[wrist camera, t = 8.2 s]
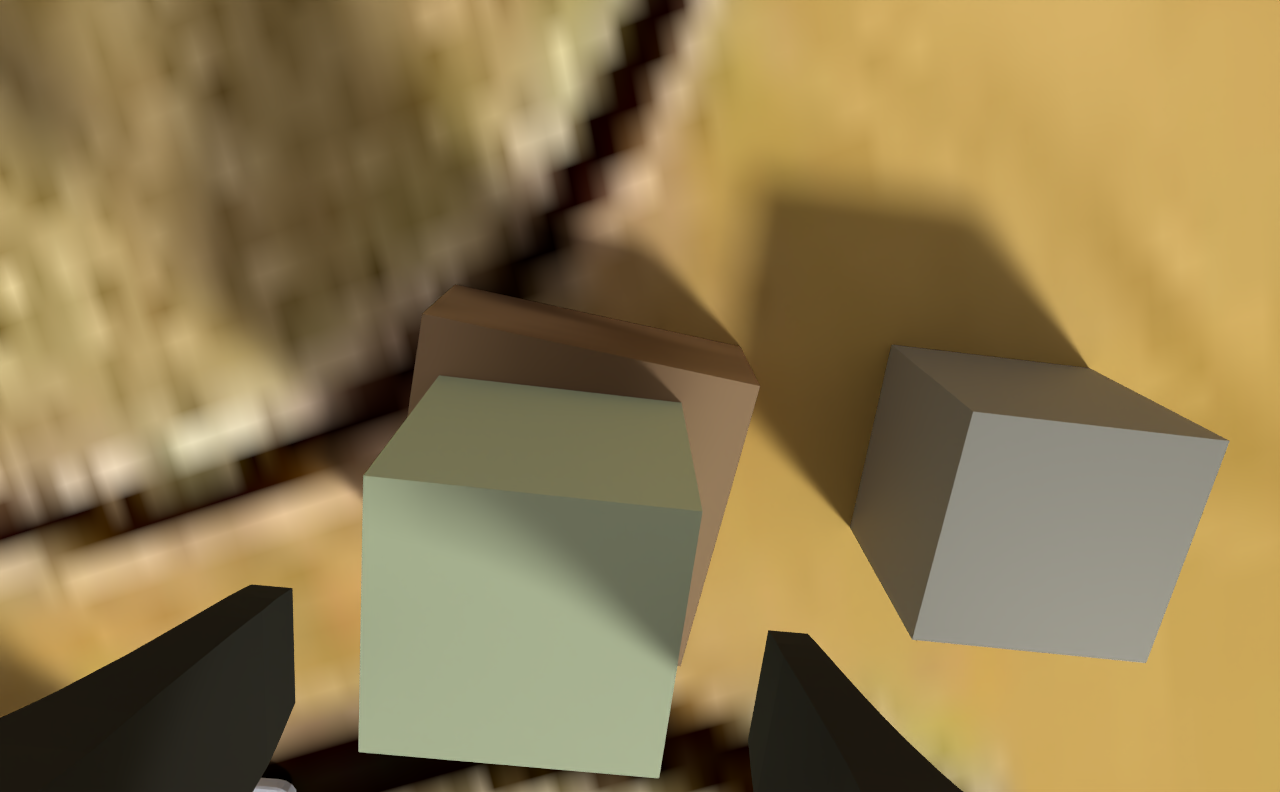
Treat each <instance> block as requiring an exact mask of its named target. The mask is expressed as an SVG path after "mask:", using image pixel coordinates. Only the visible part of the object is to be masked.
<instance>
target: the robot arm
mask: <svg viewBox="0 0 1280 792" xmlns="http://www.w3.org/2000/svg"><path fill="white" fill-rule="evenodd" d="M294 704H295V674H294V634H293V594H292V588H284V587H273V586H261V585H249V586H247V587H245V588H243V589H241V590H239V591H237V592H236V593H234V594H232V595H230V596H228V597H227V598H225V599H223V600H221V601H219V602H218V603H216V604H214V605H212V606H211V607H209V608H207V609H206V610H204V611H202V612H200V613H199V614H197V615H195V616H194V617H192V618H190V619H188V620H187V621H185V622H183V623H182V624H180V625H178V626H176V627H175V628H173V629H171V630H169V631H168V632H166V633H164V634H162V635H161V636H159V637H157V638H155V639H154V640H152V641H150V642H148V643H147V644H145V645H143V646H141V647H140V648H138V649H136V650H134V651H133V652H131V653H129V654H127V655H125V656H124V657H122V658H120V659H118V660H116V661H114V662H112V663H110V664H108V665H106V666H104V667H103V668H101V669H99V670H97V671H95V672H93V673H91V674H89V675H87V676H85V677H84V678H82V679H80V680H78V681H76V682H74V683H72V684H70V685H68V686H66V687H64V688H63V689H61V690H59V691H57V692H55V693H53V694H51V695H49V696H47V697H44V698H42V699H40V700H38V701H36V702H34V703H32V704H30V705H28V706H25V707H23V708H21V709H19V710H17V711H15V712H13V713H10V714H8V715H6V716H3V717H1V718H0V792H296V789H295V788H294V786H293V785H292V784H291V783H289V782H287V781H285V780H281V779H270V778H261V777H262V775H263V773H264V772H265V770H266V768H267V766H268V764H269V762H270V760H271V758H272V756H273V753H274V751H275V749H276V747H277V744H278V742H279V740H280V738H281V735H282V733H283V731H284V728H285V726H286V723H287V721H288V719H289V716H290V714H291V711H292V709H293V707H294ZM748 743H749V753H750V764H751V774H752V783H753V791H754V792H963V791H961V790H960V789H959V788H958V787H957V786H956V785H954V784H953V783H952V782H951V781H950V780H949V779H948V778H946V777H945V776H944V775H943V774H942V773H941V772H940V771H938V770H937V769H936V768H935V767H934V766H933V765H932V764H931V763H930V762H929V761H928V760H927V759H926V758H925V757H924V756H923V755H921V754H920V753H919V752H918V751H917V750H916V749H915V748H914V747H913V746H912V745H911V744H910V743H909V742H908V741H907V740H906V739H905V738H904V737H903V736H902V735H901V734H900V733H899V732H898V731H897V730H896V729H895V728H894V727H893V726H892V725H891V724H890V723H889V722H888V721H887V720H886V719H885V718H884V717H883V716H882V715H881V714H880V713H879V712H878V711H877V710H876V709H875V708H874V707H873V705H872V704H871V703H870V702H869V701H868V700H867V699H866V698H865V697H864V696H863V695H862V694H861V692H860V691H859V690H858V689H857V688H856V687H855V686H854V685H853V684H852V683H851V681H850V680H849V679H848V678H847V677H846V676H845V675H844V674H843V673H842V671H841V670H840V669H839V668H838V667H837V666H836V665H835V663H834V662H833V661H832V660H831V659H830V658H829V657H828V656H827V654H826V653H825V652H824V651H823V650H822V649H821V648H820V647H819V645H818V644H817V643H816V642H815V641H814V640H813V639H812V638H811V637H810V636H809V635H808V634H803V633H792V632H780V631H769V630H768V636H767V641H766V646H765V652H764V657H763V663H762V668H761V673H760V679H759V684H758V690H757V695H756V700H755V706H754V711H753V717H752V722H751V727H750V733H749V738H748Z"/></svg>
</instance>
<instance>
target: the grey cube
mask: <svg viewBox="0 0 1280 792" xmlns="http://www.w3.org/2000/svg"><path fill="white" fill-rule="evenodd" d="M1228 444H1229V440H1227V439H1225V438H1223V437H1221V436H1219V435H1217V434H1215V433H1213V432H1211V431H1209V430H1207V429H1205V428H1204V427H1202V426H1200V425H1198V424H1196V423H1194V422H1192V421H1190V420H1188V419H1186V418H1184V417H1182V416H1180V415H1179V414H1177V413H1175V412H1173V411H1171V410H1169V409H1167V408H1165V407H1163V406H1161V405H1159V404H1157V403H1155V402H1154V401H1152V400H1150V399H1148V398H1146V397H1144V396H1142V395H1140V394H1138V393H1136V392H1134V391H1132V390H1130V389H1128V388H1127V387H1125V386H1123V385H1121V384H1119V383H1117V382H1115V381H1113V380H1111V379H1109V378H1107V377H1105V376H1103V375H1102V374H1100V373H1098V372H1096V371H1094V370H1092V369H1090V368H1084V367H1076V366H1067V365H1059V364H1050V363H1042V362H1034V361H1025V360H1017V359H1008V358H1000V357H992V356H983V355H975V354H966V353H958V352H950V351H941V350H933V349H924V348H916V347H908V346H899V345H891V349H890V354H889V358H888V362H887V367H886V371H885V376H884V380H883V384H882V389H881V393H880V398H879V402H878V406H877V411H876V415H875V420H874V424H873V429H872V433H871V437H870V442H869V446H868V451H867V455H866V459H865V464H864V468H863V473H862V477H861V481H860V486H859V490H858V495H857V499H856V503H855V508H854V512H853V517H852V521H851V525H850V528H851V530H852V532H853V534H854V535H855V537H856V539H857V541H858V543H859V544H860V546H861V548H862V550H863V552H864V553H865V555H866V557H867V559H868V561H869V563H870V564H871V566H872V568H873V570H874V572H875V573H876V575H877V577H878V579H879V581H880V582H881V584H882V586H883V588H884V590H885V591H886V593H887V595H888V597H889V599H890V600H891V602H892V604H893V606H894V608H895V609H896V611H897V613H898V615H899V617H900V618H901V620H902V622H903V624H904V626H905V627H906V629H907V631H908V633H909V635H910V636H911V638H912V640H921V641H931V642H941V643H951V644H961V645H971V646H982V647H992V648H1002V649H1012V650H1022V651H1032V652H1042V653H1052V654H1062V655H1072V656H1082V657H1092V658H1102V659H1112V660H1122V661H1132V662H1142V663H1146V662H1147V659H1148V656H1149V654H1150V651H1151V648H1152V646H1153V643H1154V640H1155V638H1156V635H1157V632H1158V630H1159V627H1160V624H1161V622H1162V619H1163V616H1164V614H1165V611H1166V608H1167V606H1168V603H1169V601H1170V598H1171V595H1172V593H1173V590H1174V587H1175V585H1176V582H1177V579H1178V577H1179V574H1180V571H1181V569H1182V566H1183V563H1184V561H1185V558H1186V555H1187V553H1188V550H1189V547H1190V545H1191V542H1192V539H1193V537H1194V534H1195V531H1196V529H1197V526H1198V523H1199V521H1200V518H1201V515H1202V513H1203V510H1204V507H1205V505H1206V502H1207V499H1208V497H1209V494H1210V492H1211V489H1212V486H1213V484H1214V481H1215V478H1216V476H1217V473H1218V470H1219V468H1220V465H1221V462H1222V460H1223V457H1224V454H1225V452H1226V449H1227V446H1228Z"/></svg>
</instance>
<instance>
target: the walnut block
mask: <svg viewBox="0 0 1280 792" xmlns="http://www.w3.org/2000/svg"><path fill="white" fill-rule="evenodd" d="M439 375H440V376H449V377H458V378H467V379H475V380H484V381H493V382H502V383H511V384H520V385H529V386H538V387H547V388H555V389H564V390H573V391H582V392H591V393H600V394H609V395H618V396H627V397H635V398H644V399H653V400H662V401H671V402H680V403H682V408H683V414H684V419H685V424H686V429H687V434H688V439H689V444H690V450H691V455H692V460H693V465H694V470H695V475H696V480H697V485H698V491H699V496H700V501H701V506H702V511H703V512H702V518H701V524H700V530H699V536H698V542H697V548H696V555H695V561H694V567H693V573H692V579H691V585H690V591H689V597H688V604H687V610H686V616H685V622H684V628H683V634H682V640H681V646H680V652H679V659H678V665H677V666H681V662H682V659H683V655H684V652H685V648H686V645H687V641H688V638H689V634H690V631H691V627H692V624H693V620H694V617H695V613H696V610H697V606H698V603H699V599H700V596H701V592H702V589H703V585H704V582H705V578H706V575H707V571H708V568H709V564H710V561H711V557H712V554H713V550H714V547H715V543H716V540H717V536H718V533H719V529H720V526H721V522H722V518H723V515H724V511H725V508H726V504H727V501H728V497H729V494H730V490H731V487H732V483H733V480H734V476H735V473H736V469H737V466H738V462H739V459H740V455H741V452H742V448H743V445H744V441H745V438H746V434H747V431H748V427H749V424H750V420H751V417H752V413H753V410H754V406H755V403H756V399H757V396H758V392H759V389H760V385H759V383H758V381H757V379H756V377H755V375H754V373H753V371H752V369H751V367H750V365H749V363H748V361H747V359H746V357H745V355H744V353H743V351H742V349H741V347H740V346H735V345H731V344H726V343H722V342H717V341H712V340H708V339H703V338H699V337H694V336H690V335H685V334H680V333H676V332H671V331H667V330H662V329H657V328H653V327H648V326H644V325H639V324H635V323H630V322H625V321H621V320H616V319H612V318H607V317H603V316H598V315H593V314H589V313H584V312H580V311H575V310H570V309H566V308H561V307H557V306H552V305H548V304H543V303H538V302H534V301H529V300H525V299H520V298H515V297H511V296H506V295H502V294H497V293H493V292H488V291H483V290H479V289H474V288H470V287H465V286H460V285H456V284H455V285H454V286H453V287H452V288H451V289H450V290H448V291H447V292H446V293H445V294H444V295H443V296H442V297H440V298H439V299H438V300H437V301H436V302H435V303H434V304H433V305H431V306H430V307H429V308H428V309H427V310H426V311H425V312H424V313H422V319H421V326H420V333H419V340H418V347H417V354H416V361H415V367H414V374H413V381H412V388H411V395H410V402H409V409H408V416H409V415H410V413H411V412H412V411H413V409H414V408H415V407H416V405H417V404H418V403H419V401H420V400H421V399H422V397H423V396H424V395H425V393H426V392H427V391H428V389H429V388H430V387H431V386H432V384H433V383H434V382H435V380H436V379H437V378H438V376H439ZM408 416H407V417H408Z"/></svg>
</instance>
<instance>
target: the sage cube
mask: <svg viewBox="0 0 1280 792" xmlns="http://www.w3.org/2000/svg"><path fill="white" fill-rule="evenodd" d="M702 512H703V511H702V506H701V501H700V496H699V491H698V485H697V480H696V475H695V470H694V465H693V460H692V455H691V450H690V444H689V439H688V434H687V429H686V424H685V419H684V414H683V408H682V403H680V402H671V401H662V400H653V399H644V398H635V397H627V396H618V395H609V394H600V393H591V392H582V391H573V390H564V389H555V388H547V387H538V386H529V385H520V384H511V383H502V382H493V381H484V380H475V379H467V378H458V377H449V376H440V375H439V376H438V378H437V379H436V380H435V382H434V383H433V384H432V386H431V387H430V388H429V389H428V391H427V392H426V393H425V395H424V396H423V397H422V399H421V400H420V401H419V403H418V404H417V405H416V407H415V408H414V409H413V411H412V412H411V413H410V415H409V416H408V417H407V419H406V420H405V421H404V423H403V424H402V425H401V427H400V428H399V429H398V430H397V432H396V433H395V434H394V436H393V437H392V438H391V440H390V441H389V442H388V444H387V445H386V446H385V448H384V449H383V450H382V452H381V453H380V454H379V456H378V457H377V458H376V460H375V461H374V462H373V464H372V465H371V466H370V467H369V469H368V470H367V471H366V473H365V474H364V475H363V524H362V581H361V638H360V695H359V752H365V753H377V754H388V755H400V756H411V757H422V758H434V759H445V760H457V761H468V762H479V763H491V764H502V765H514V766H525V767H536V768H548V769H559V770H571V771H582V772H593V773H605V774H616V775H628V776H639V777H650V778H659V775H660V769H661V762H662V756H663V750H664V744H665V738H666V732H667V726H668V720H669V714H670V707H671V701H672V695H673V689H674V683H675V677H676V671H677V665H678V659H679V652H680V646H681V640H682V634H683V628H684V622H685V616H686V610H687V604H688V597H689V591H690V585H691V579H692V573H693V567H694V561H695V555H696V548H697V542H698V536H699V530H700V524H701V518H702Z"/></svg>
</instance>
